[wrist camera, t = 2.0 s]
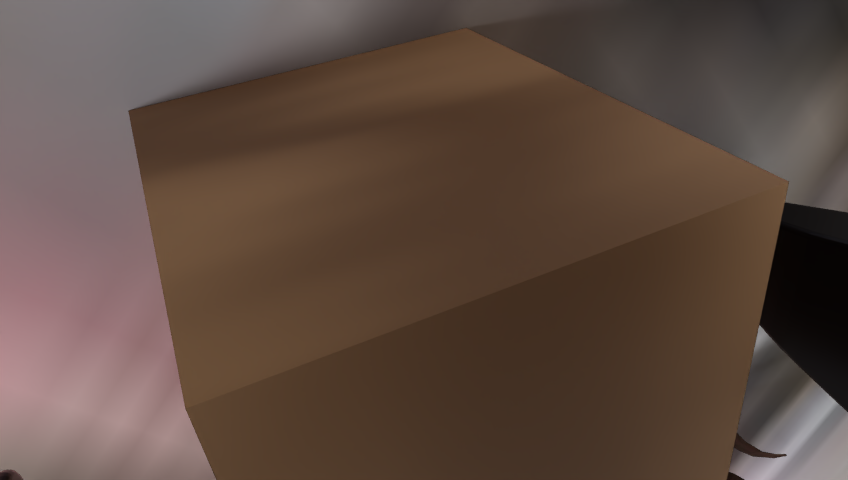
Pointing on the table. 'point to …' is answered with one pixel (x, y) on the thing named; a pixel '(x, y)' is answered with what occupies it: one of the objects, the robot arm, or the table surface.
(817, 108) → the table surface
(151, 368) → the table surface
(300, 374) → the walnut block
